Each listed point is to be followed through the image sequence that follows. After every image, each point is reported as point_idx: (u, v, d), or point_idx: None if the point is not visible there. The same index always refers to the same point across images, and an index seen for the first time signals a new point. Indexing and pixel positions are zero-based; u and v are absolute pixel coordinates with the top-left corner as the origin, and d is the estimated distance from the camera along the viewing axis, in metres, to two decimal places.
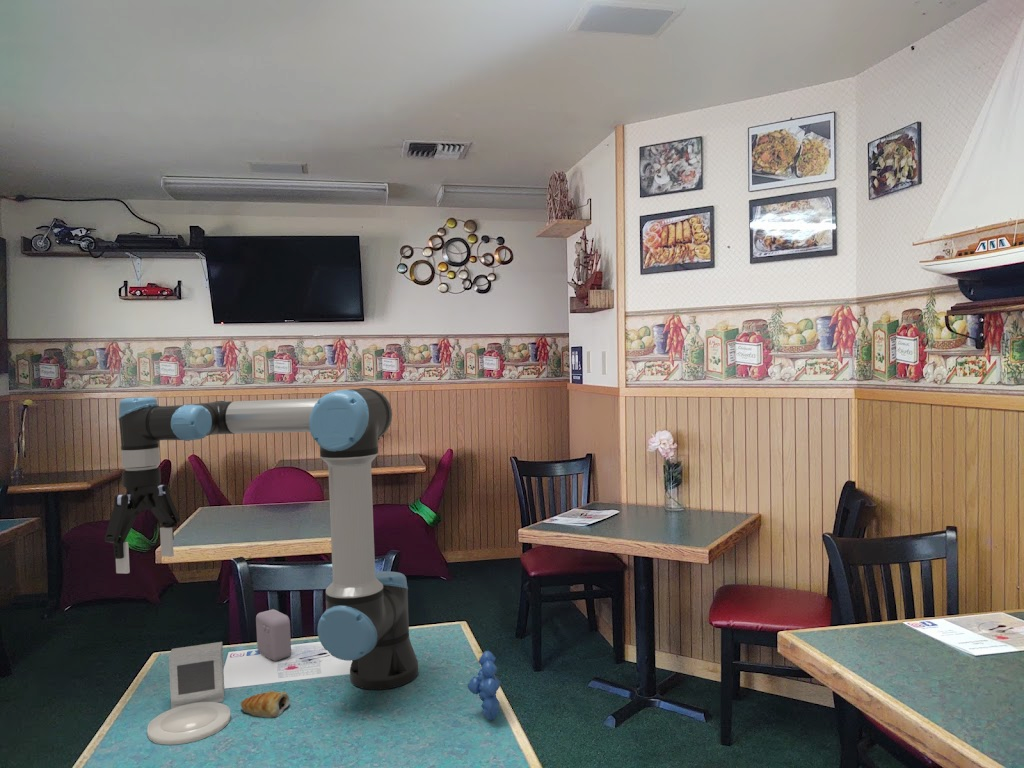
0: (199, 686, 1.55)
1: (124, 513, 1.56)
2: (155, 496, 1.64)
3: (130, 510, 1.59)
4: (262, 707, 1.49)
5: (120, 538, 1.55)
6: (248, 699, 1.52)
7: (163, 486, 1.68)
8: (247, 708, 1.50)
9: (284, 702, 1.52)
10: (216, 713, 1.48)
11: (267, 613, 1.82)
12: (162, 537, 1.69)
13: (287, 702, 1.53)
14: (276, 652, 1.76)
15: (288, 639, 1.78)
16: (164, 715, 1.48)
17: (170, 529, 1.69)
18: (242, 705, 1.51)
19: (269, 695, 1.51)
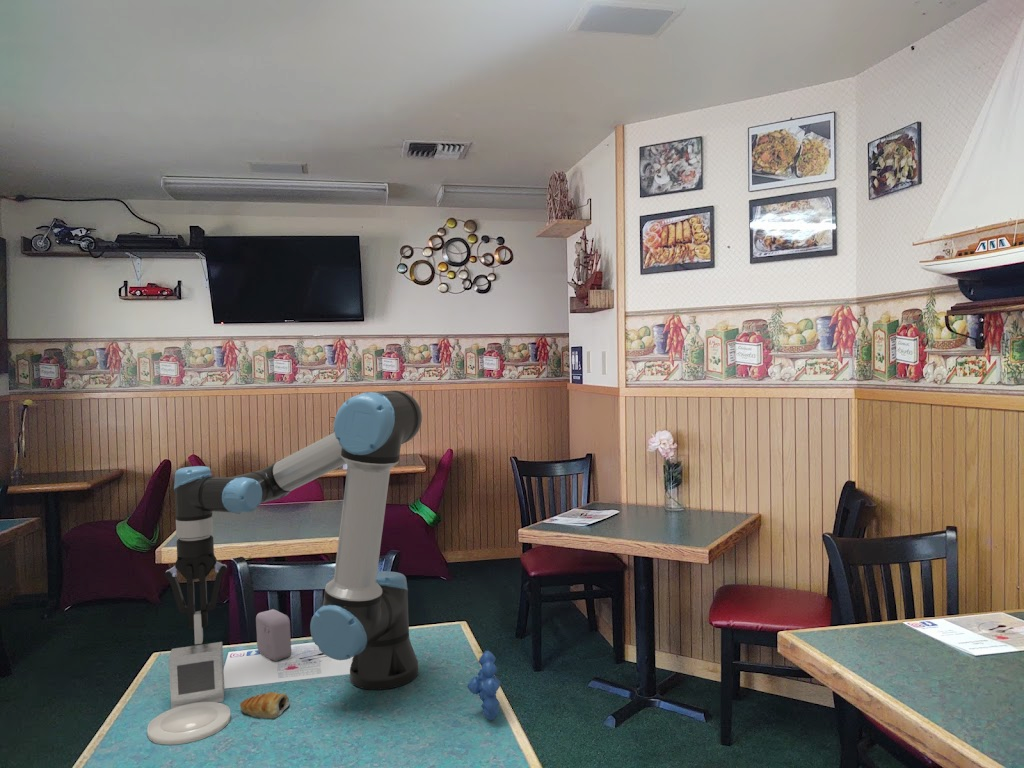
0: (199, 686, 1.55)
1: (175, 587, 1.63)
2: (202, 568, 1.64)
3: None
4: (262, 709, 1.48)
5: (188, 611, 1.64)
6: (247, 700, 1.51)
7: (222, 566, 1.66)
8: (247, 709, 1.49)
9: (284, 703, 1.52)
10: (216, 713, 1.48)
11: (267, 613, 1.82)
12: None
13: (287, 703, 1.52)
14: (276, 652, 1.76)
15: (288, 639, 1.78)
16: (164, 715, 1.48)
17: (198, 616, 1.64)
18: (241, 706, 1.50)
19: (269, 696, 1.50)
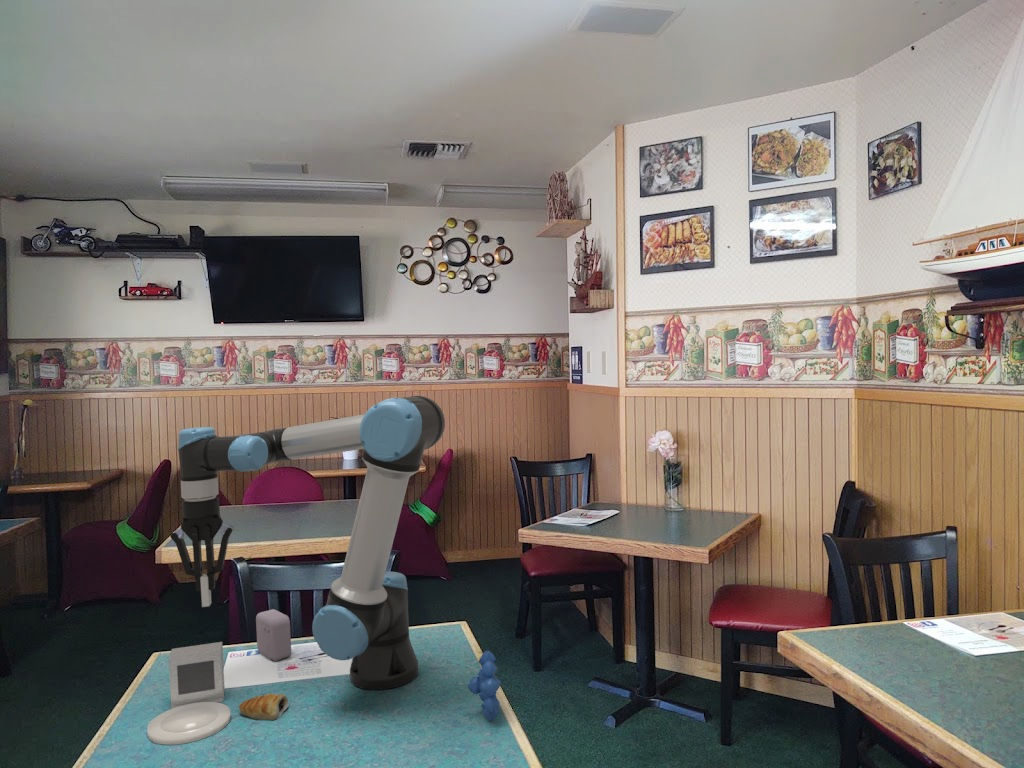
0: (199, 686, 1.55)
1: (181, 548, 1.61)
2: (207, 529, 1.61)
3: None
4: (261, 710, 1.47)
5: (194, 574, 1.62)
6: (246, 702, 1.50)
7: (228, 528, 1.64)
8: (246, 711, 1.48)
9: (283, 704, 1.51)
10: (216, 713, 1.48)
11: (267, 613, 1.82)
12: None
13: (286, 704, 1.52)
14: (276, 652, 1.76)
15: (288, 639, 1.78)
16: (164, 715, 1.48)
17: (204, 578, 1.62)
18: (240, 708, 1.50)
19: (268, 697, 1.50)
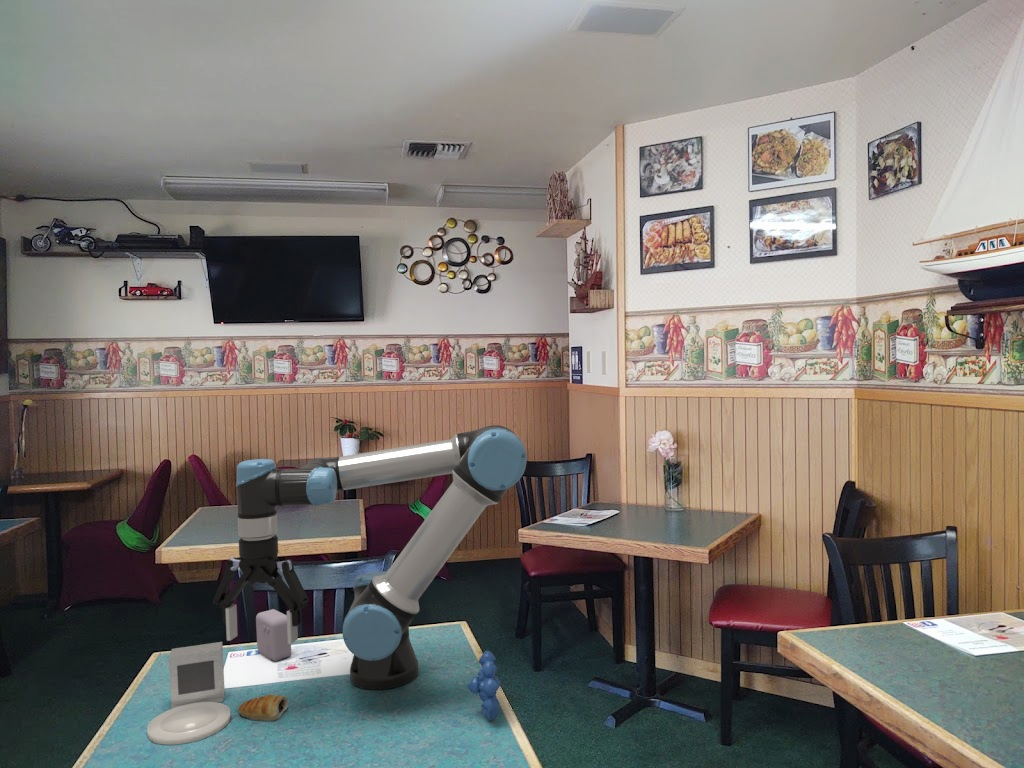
0: (199, 686, 1.55)
1: (225, 578, 1.51)
2: (261, 571, 1.49)
3: None
4: (261, 711, 1.47)
5: (222, 602, 1.52)
6: (246, 703, 1.50)
7: None
8: (246, 712, 1.48)
9: (283, 705, 1.51)
10: (216, 713, 1.48)
11: (267, 613, 1.82)
12: None
13: (286, 705, 1.51)
14: (276, 652, 1.76)
15: None
16: (164, 715, 1.48)
17: (287, 613, 1.48)
18: (240, 710, 1.49)
19: (268, 698, 1.49)
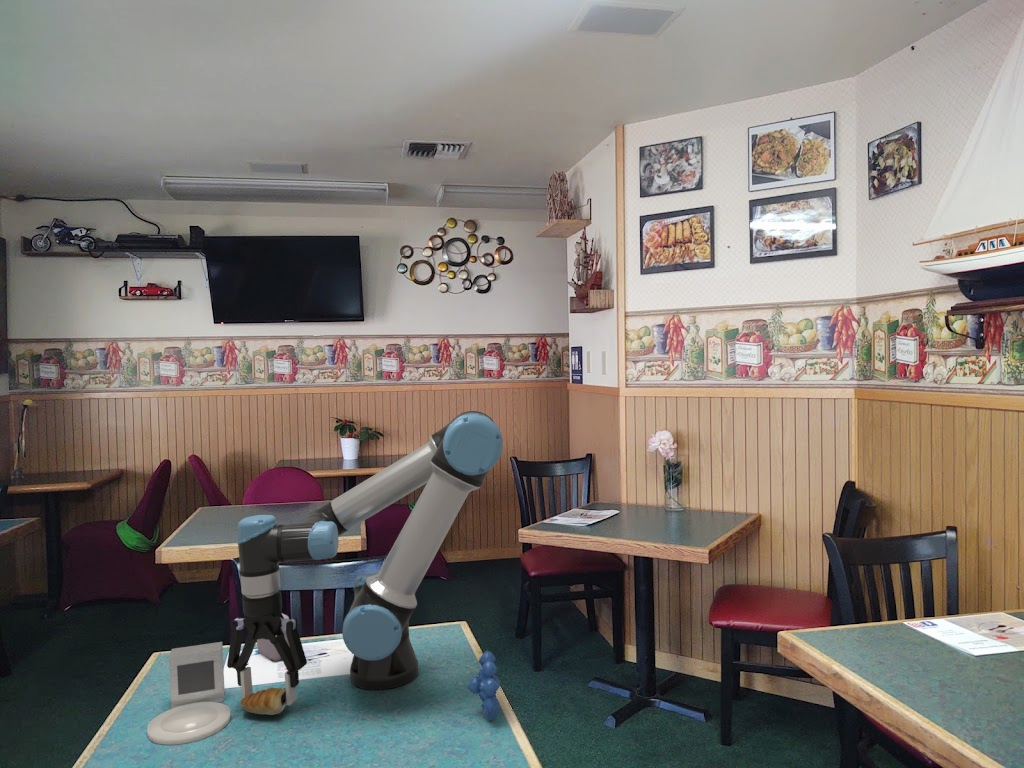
0: (199, 686, 1.55)
1: (234, 639, 1.51)
2: (265, 628, 1.49)
3: None
4: (264, 704, 1.47)
5: None
6: (248, 697, 1.49)
7: (288, 621, 1.49)
8: (248, 706, 1.47)
9: (285, 697, 1.51)
10: (216, 713, 1.48)
11: None
12: None
13: None
14: (276, 652, 1.76)
15: None
16: (164, 715, 1.48)
17: (285, 674, 1.49)
18: (242, 703, 1.48)
19: (270, 691, 1.49)
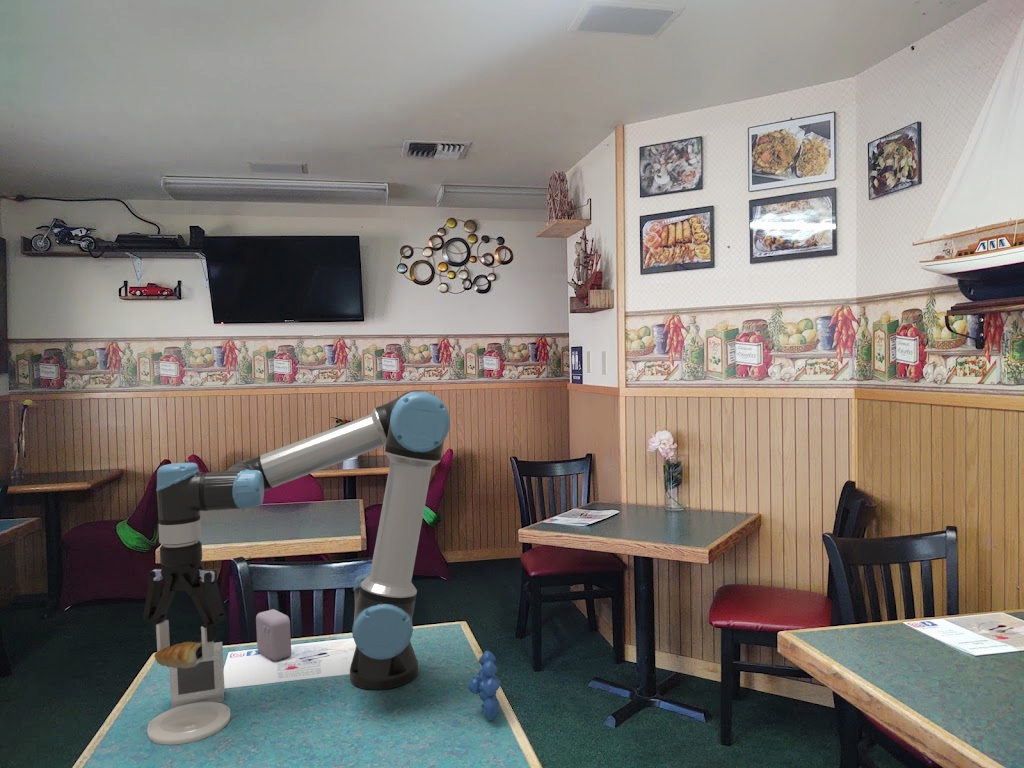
0: (199, 686, 1.55)
1: (151, 591, 1.46)
2: (182, 579, 1.43)
3: None
4: (177, 657, 1.41)
5: None
6: (162, 650, 1.43)
7: None
8: (161, 659, 1.42)
9: None
10: (216, 713, 1.48)
11: (267, 613, 1.82)
12: None
13: None
14: (276, 652, 1.76)
15: (288, 639, 1.78)
16: (164, 715, 1.48)
17: (202, 628, 1.43)
18: (156, 656, 1.43)
19: (186, 644, 1.43)
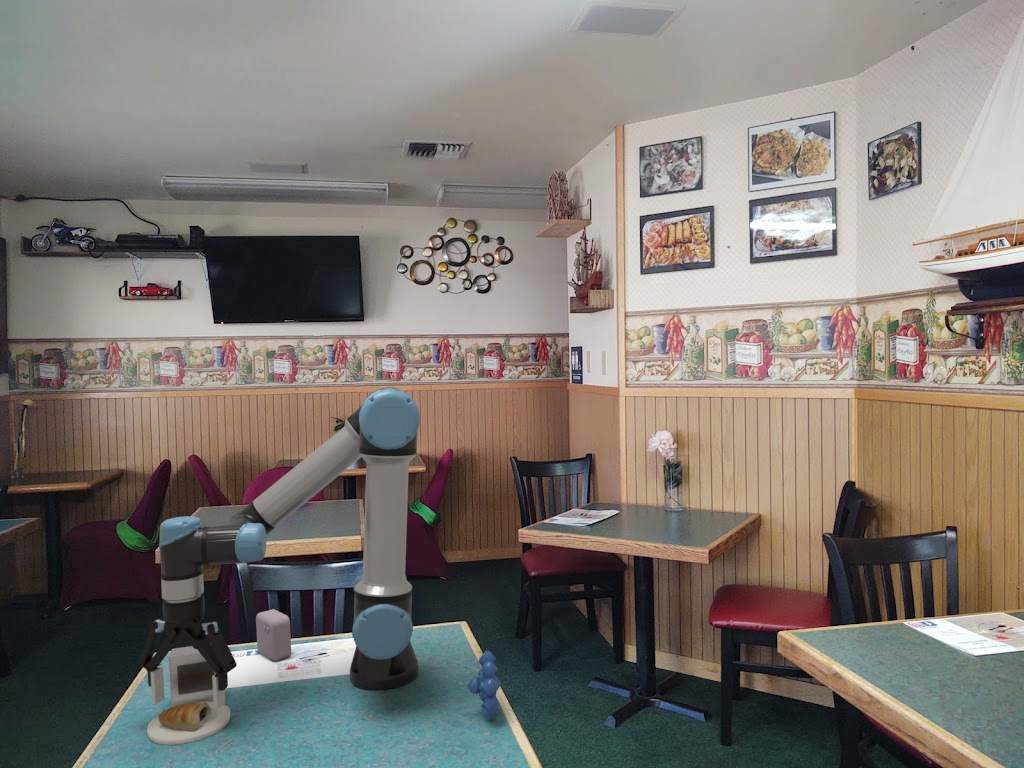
0: (199, 686, 1.55)
1: (150, 641, 1.46)
2: (185, 634, 1.44)
3: None
4: (181, 720, 1.41)
5: (147, 665, 1.47)
6: (166, 711, 1.44)
7: None
8: (165, 721, 1.42)
9: (205, 712, 1.45)
10: (216, 713, 1.48)
11: (267, 613, 1.82)
12: None
13: (209, 713, 1.46)
14: (276, 652, 1.76)
15: (288, 639, 1.78)
16: None
17: (213, 677, 1.43)
18: (159, 718, 1.43)
19: (189, 706, 1.44)
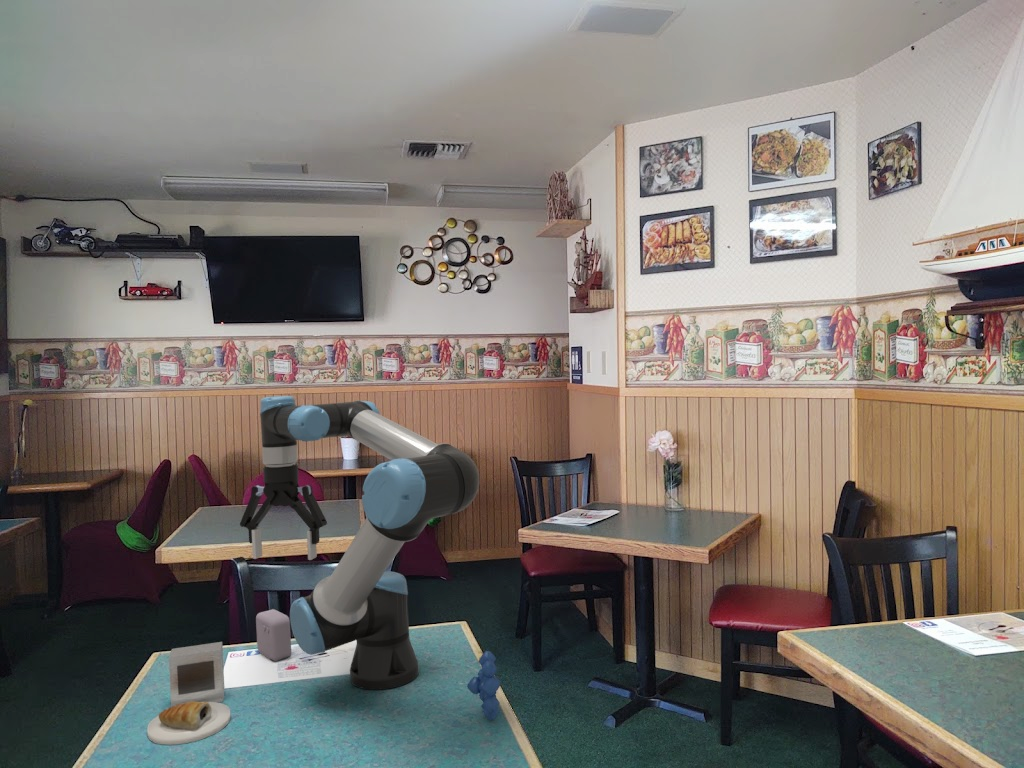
0: (199, 686, 1.55)
1: (251, 503, 1.68)
2: (283, 495, 1.66)
3: None
4: (182, 719, 1.42)
5: None
6: (167, 710, 1.44)
7: None
8: (165, 720, 1.42)
9: (206, 712, 1.46)
10: (216, 713, 1.48)
11: (267, 613, 1.82)
12: None
13: (209, 712, 1.46)
14: (276, 652, 1.76)
15: (288, 639, 1.78)
16: None
17: (307, 532, 1.66)
18: (160, 717, 1.43)
19: (190, 705, 1.44)
